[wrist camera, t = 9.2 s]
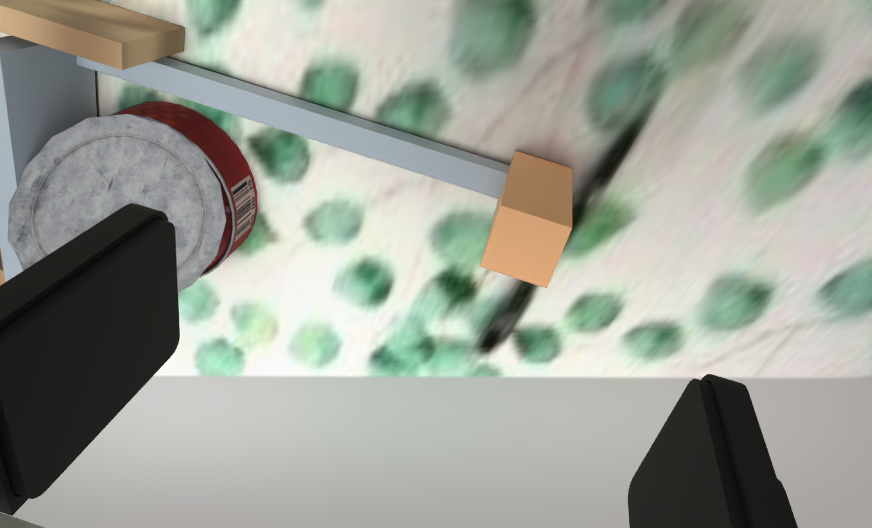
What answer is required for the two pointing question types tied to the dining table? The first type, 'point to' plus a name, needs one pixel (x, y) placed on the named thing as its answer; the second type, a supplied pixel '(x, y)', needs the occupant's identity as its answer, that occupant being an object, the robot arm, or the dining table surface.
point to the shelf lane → (91, 33)
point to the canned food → (138, 185)
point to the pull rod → (76, 101)
